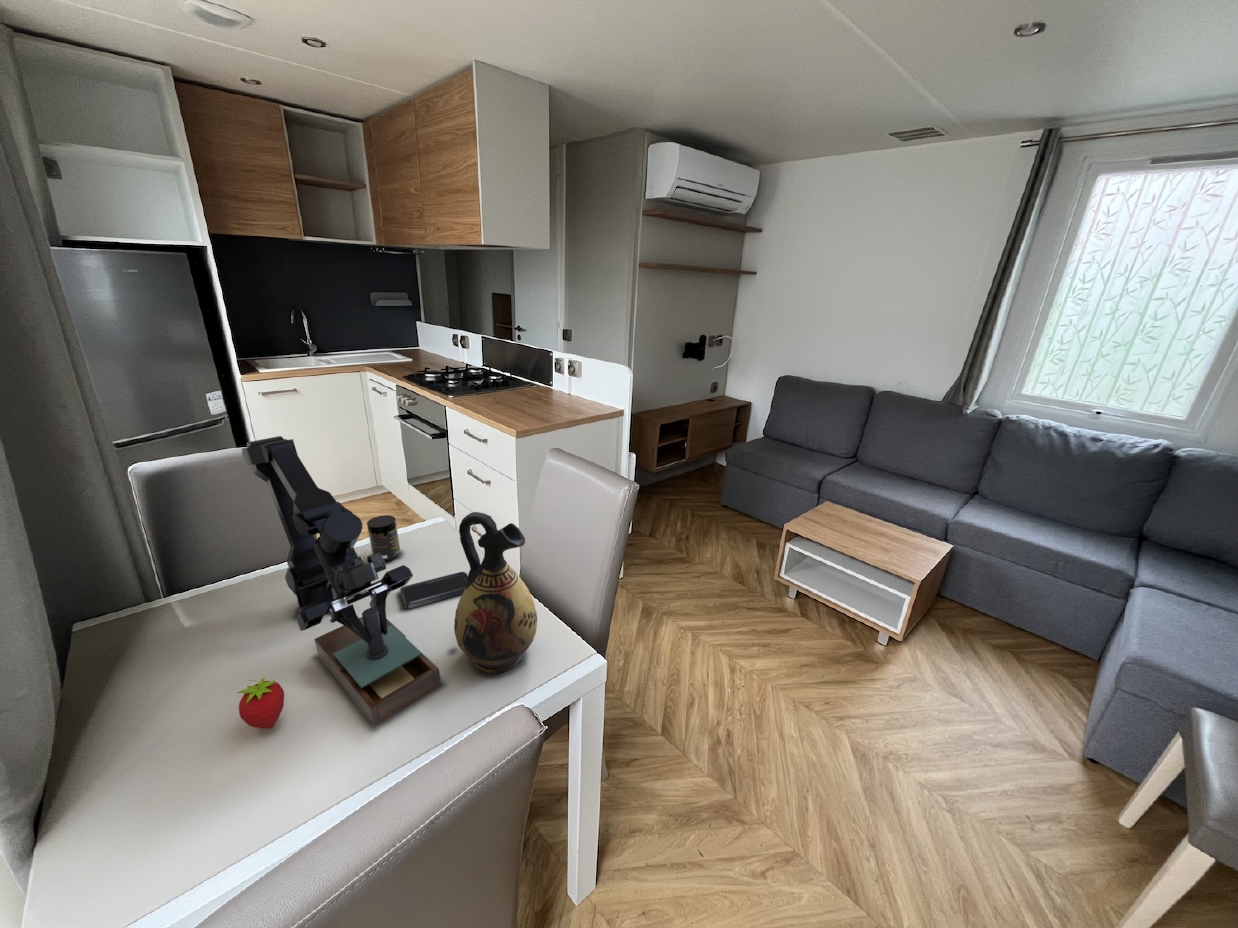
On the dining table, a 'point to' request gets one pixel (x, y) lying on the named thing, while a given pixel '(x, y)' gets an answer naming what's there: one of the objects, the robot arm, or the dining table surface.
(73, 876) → the dining table surface
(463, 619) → the ceramic jug
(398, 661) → the peg plate
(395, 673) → the sliding lid box
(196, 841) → the dining table surface
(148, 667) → the dining table surface
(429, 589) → the phone
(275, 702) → the strawberry
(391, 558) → the supplement container
